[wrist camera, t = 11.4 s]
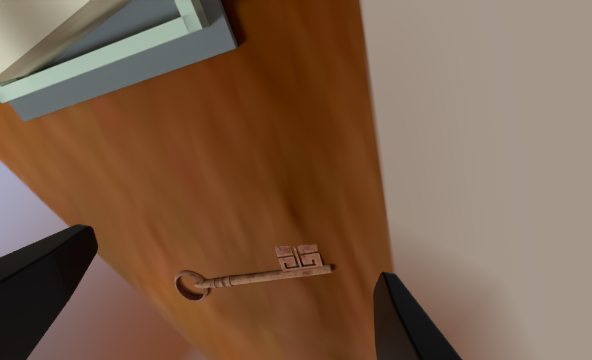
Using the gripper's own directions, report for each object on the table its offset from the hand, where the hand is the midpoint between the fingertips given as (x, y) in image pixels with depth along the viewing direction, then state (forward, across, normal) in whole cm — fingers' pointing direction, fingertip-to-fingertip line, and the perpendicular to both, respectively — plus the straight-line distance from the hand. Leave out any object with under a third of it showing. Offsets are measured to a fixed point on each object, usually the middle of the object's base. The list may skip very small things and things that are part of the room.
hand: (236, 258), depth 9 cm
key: (+13, +2, +14) cm, 19 cm away
